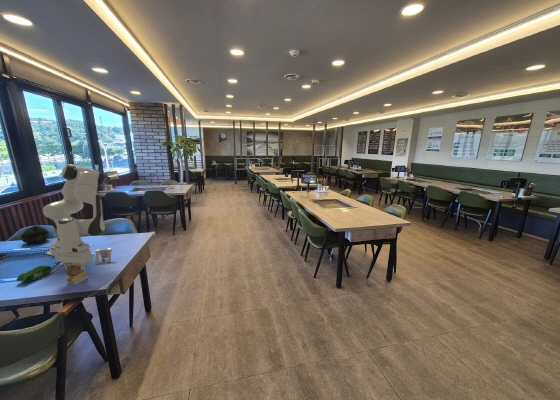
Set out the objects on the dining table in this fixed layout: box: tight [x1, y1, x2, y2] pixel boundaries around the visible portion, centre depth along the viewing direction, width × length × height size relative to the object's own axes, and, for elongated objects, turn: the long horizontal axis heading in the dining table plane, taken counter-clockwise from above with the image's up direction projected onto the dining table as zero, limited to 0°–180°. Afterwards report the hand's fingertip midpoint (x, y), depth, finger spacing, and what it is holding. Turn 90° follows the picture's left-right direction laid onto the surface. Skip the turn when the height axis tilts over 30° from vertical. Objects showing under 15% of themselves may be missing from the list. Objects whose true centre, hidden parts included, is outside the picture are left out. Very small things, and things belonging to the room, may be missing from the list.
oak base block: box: [65, 270, 88, 284], centre depth 129 cm, size 6×6×4 cm
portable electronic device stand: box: [93, 248, 113, 265], centre depth 152 cm, size 9×8×8 cm
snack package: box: [16, 265, 52, 283], centre depth 131 cm, size 7×16×5 cm, turn 178°
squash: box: [20, 225, 50, 244], centre depth 180 cm, size 14×15×15 cm
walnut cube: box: [66, 263, 85, 276], centre depth 128 cm, size 5×5×5 cm
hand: (75, 268), depth 128 cm, fingers open, 8 cm apart
